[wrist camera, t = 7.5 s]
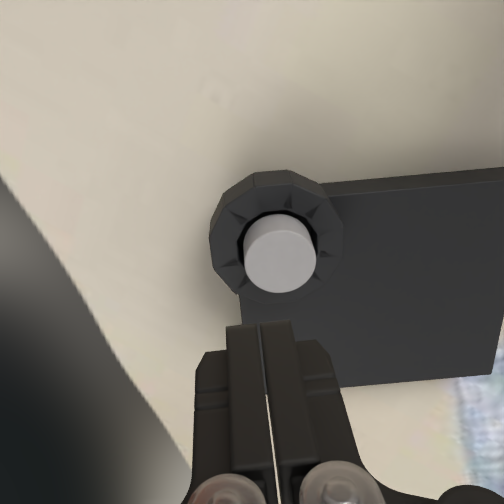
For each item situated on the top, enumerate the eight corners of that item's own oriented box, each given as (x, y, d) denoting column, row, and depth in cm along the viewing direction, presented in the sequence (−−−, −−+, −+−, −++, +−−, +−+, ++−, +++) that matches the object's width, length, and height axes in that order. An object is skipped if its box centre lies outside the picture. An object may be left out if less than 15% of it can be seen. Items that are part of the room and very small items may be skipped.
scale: (233, 377, 29) (234, 422, 26) (205, 164, 23) (202, 191, 20) (478, 355, 29) (507, 397, 26) (519, 135, 23) (564, 158, 20)
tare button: (246, 275, 22) (247, 296, 20) (240, 216, 21) (241, 234, 19) (311, 269, 22) (317, 290, 20) (309, 210, 21) (315, 227, 19)
